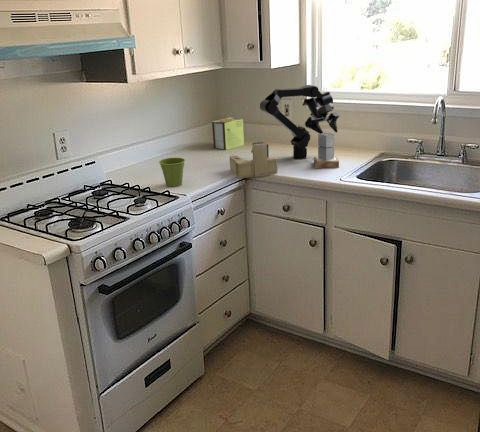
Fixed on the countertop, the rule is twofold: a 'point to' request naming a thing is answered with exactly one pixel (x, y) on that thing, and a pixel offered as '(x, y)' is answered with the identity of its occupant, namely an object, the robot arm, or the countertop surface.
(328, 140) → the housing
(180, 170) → the plant pot
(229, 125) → the protein box
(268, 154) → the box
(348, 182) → the countertop surface
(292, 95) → the robot arm
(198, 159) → the countertop surface
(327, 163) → the stand
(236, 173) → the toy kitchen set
